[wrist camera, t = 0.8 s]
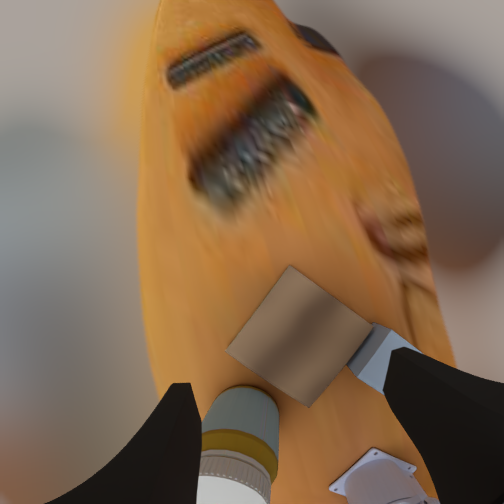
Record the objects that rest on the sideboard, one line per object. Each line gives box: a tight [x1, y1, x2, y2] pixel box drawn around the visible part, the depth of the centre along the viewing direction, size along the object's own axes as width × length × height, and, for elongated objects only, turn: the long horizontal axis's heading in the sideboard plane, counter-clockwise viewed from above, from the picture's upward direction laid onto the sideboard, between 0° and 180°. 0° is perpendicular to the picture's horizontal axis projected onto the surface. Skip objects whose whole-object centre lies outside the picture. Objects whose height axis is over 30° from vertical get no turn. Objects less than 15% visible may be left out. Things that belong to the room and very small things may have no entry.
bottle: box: [196, 386, 279, 504], centre depth 18 cm, size 7×7×15 cm
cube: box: [346, 322, 423, 395], centre depth 23 cm, size 5×5×5 cm
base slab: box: [225, 265, 374, 408], centre depth 25 cm, size 10×10×2 cm
